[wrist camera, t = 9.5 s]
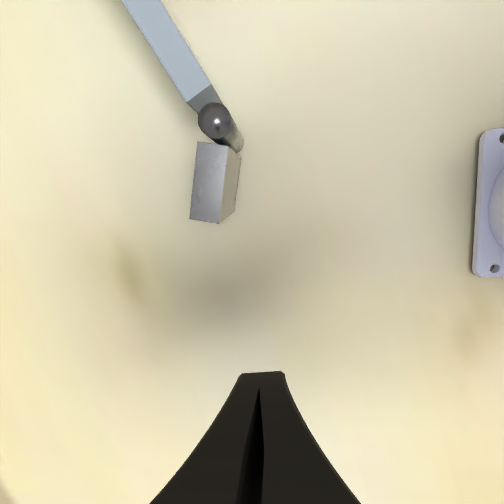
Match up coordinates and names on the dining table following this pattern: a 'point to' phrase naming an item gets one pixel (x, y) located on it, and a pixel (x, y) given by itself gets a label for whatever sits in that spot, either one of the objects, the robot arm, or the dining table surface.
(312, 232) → the dining table surface
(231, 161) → the door frame
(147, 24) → the door
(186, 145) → the dining table surface
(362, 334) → the dining table surface
